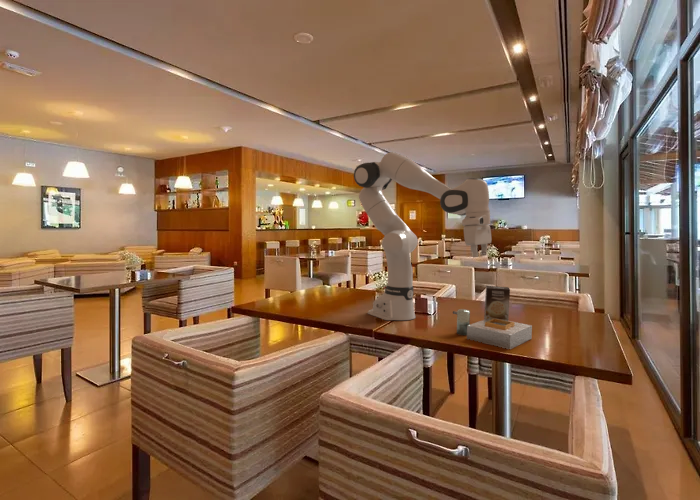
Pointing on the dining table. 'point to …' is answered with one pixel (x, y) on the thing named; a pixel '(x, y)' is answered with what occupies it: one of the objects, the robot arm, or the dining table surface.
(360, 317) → the dining table surface
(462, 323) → the spout can
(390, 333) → the dining table surface
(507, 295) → the coffee box
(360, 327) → the dining table surface
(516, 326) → the grey rectangular block
